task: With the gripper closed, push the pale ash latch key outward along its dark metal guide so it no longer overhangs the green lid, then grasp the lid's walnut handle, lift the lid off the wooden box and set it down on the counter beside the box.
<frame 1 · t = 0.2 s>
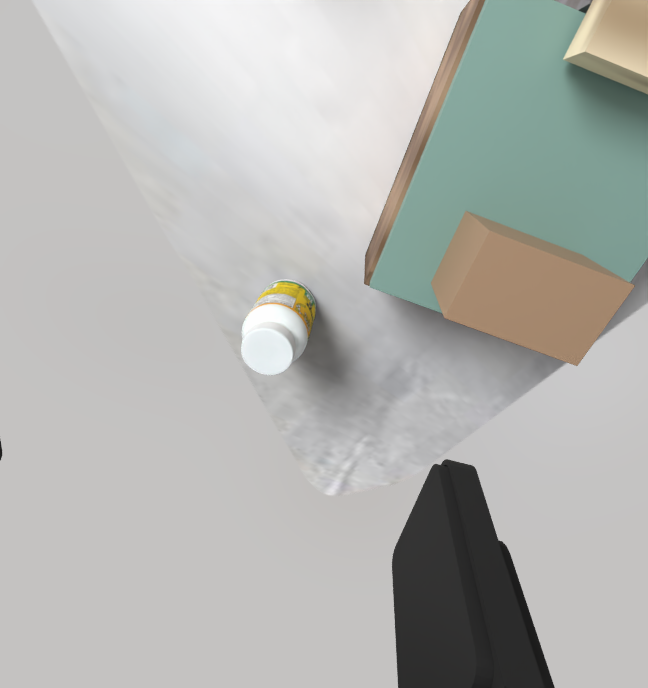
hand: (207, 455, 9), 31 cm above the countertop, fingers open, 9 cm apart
supplement bottle: (289, 304, 41), on the countertop
lid: (535, 198, 27), point 8 cm above the countertop, touching wooden box
wooden box: (501, 184, 34), on the countertop
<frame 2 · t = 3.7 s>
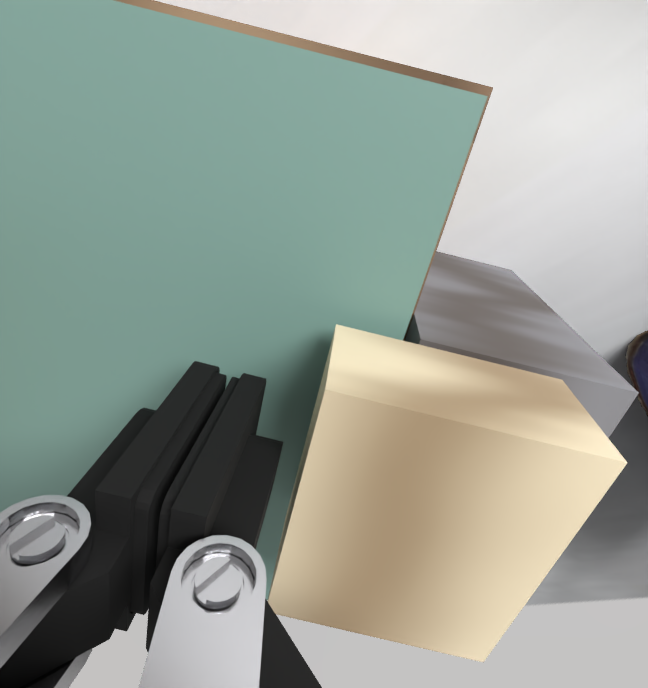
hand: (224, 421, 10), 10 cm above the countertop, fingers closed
lid: (67, 333, 12), point 8 cm above the countertop, touching wooden box
key: (411, 497, 9), point 11 cm above the countertop, slide at 0.6 cm, touching gripper
wooden box: (179, 258, 19), on the countertop
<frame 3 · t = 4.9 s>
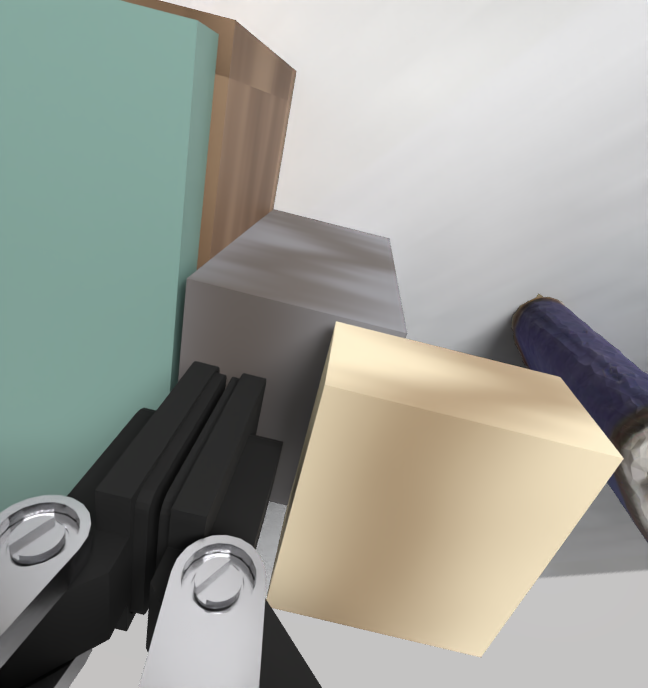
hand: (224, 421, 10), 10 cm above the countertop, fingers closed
key: (410, 493, 9), point 11 cm above the countertop, slide at 5.9 cm, touching gripper
flask: (570, 372, 20), on the countertop
wooden box: (64, 227, 19), on the countertop
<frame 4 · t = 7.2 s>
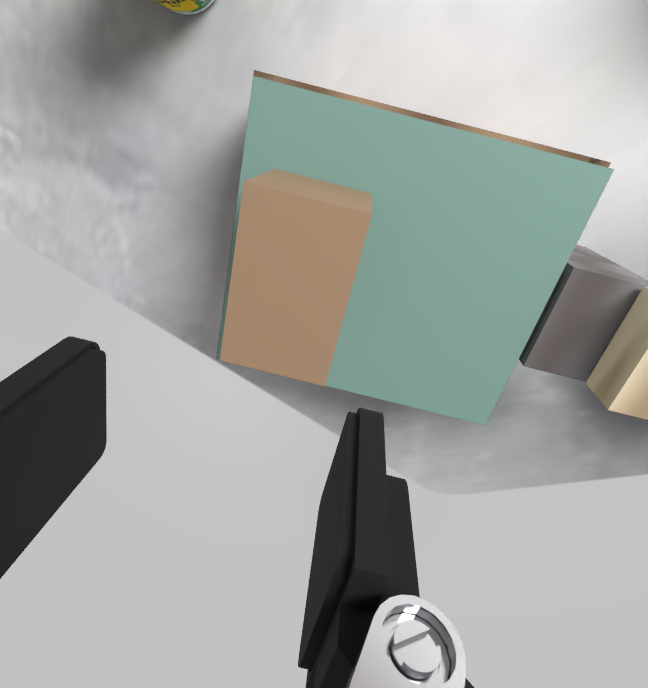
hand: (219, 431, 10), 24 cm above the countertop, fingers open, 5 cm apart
lid: (386, 271, 25), point 8 cm above the countertop, touching wooden box
wooden box: (382, 239, 32), on the countertop
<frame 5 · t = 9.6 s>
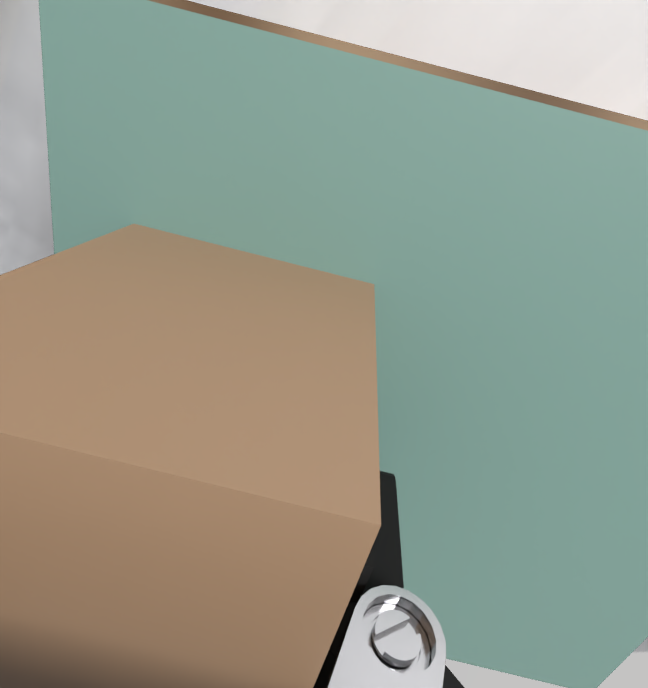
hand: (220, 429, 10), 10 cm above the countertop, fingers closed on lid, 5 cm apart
lid: (404, 425, 12), point 8 cm above the countertop, touching gripper, wooden box
wooden box: (391, 313, 19), on the countertop
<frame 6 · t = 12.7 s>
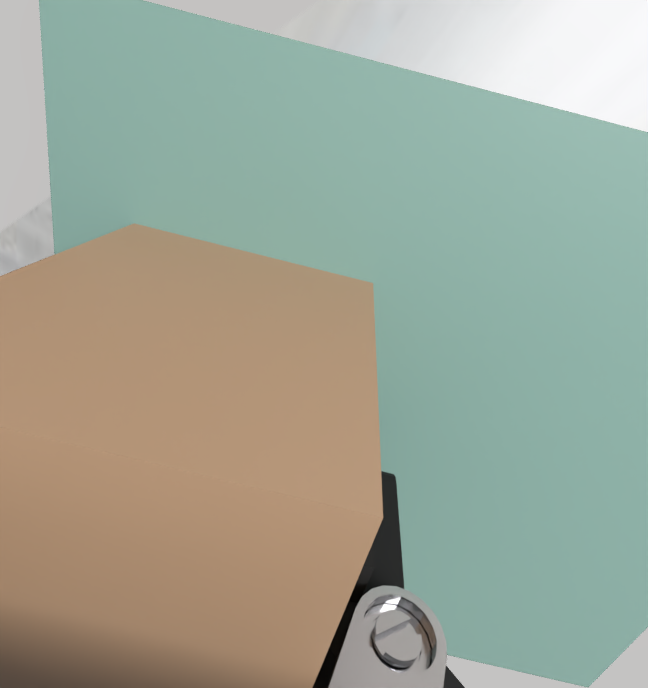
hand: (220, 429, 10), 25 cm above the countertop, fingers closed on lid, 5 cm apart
lid: (403, 423, 12), point 23 cm above the countertop, touching gripper
when the fingers open (3 cm above the countertop, at t = 16.1 s): lid drops 2 cm, on the countertop.
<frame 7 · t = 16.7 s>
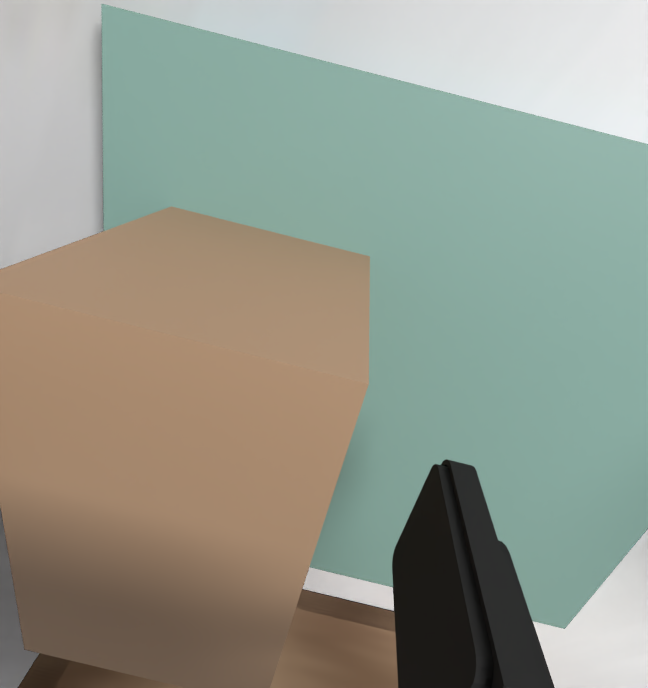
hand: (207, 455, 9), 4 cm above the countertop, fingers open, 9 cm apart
lid: (397, 384, 13), on the countertop
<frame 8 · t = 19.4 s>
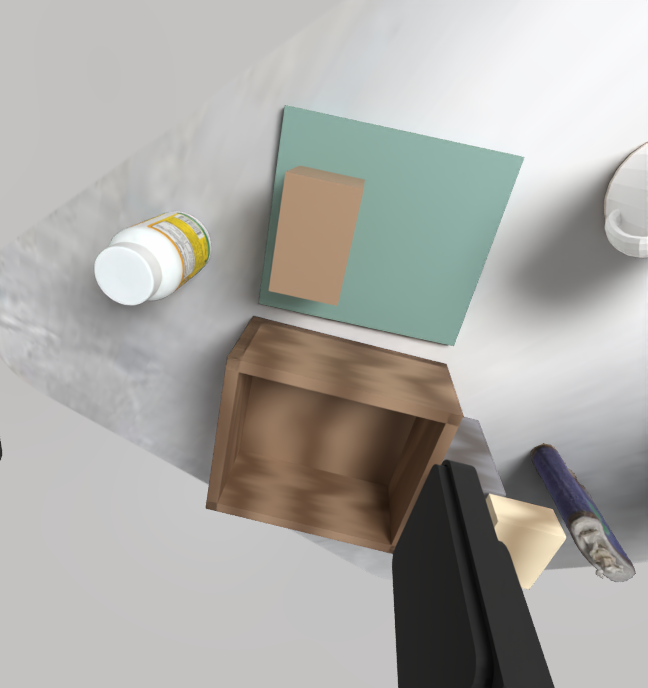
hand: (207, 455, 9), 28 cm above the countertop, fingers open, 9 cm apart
supplement bottle: (182, 242, 37), on the countertop
lid: (377, 234, 35), on the countertop
key: (509, 541, 33), point 11 cm above the countertop, slide at 6.0 cm
flask: (557, 473, 44), on the countertop
wooden box: (330, 410, 42), on the countertop
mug: (644, 197, 32), on the countertop
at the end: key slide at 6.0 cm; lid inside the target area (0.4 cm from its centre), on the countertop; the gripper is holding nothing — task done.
